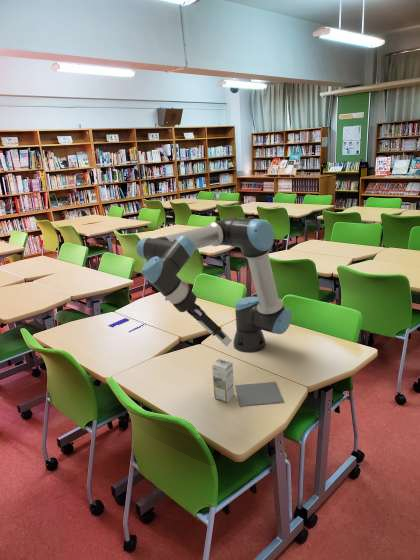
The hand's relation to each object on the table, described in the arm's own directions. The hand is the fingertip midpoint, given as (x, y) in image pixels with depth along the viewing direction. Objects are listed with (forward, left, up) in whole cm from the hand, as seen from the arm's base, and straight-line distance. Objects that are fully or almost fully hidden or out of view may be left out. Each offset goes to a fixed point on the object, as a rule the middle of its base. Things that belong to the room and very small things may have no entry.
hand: (220, 336), depth 145 cm
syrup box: (-5, 0, -27) cm, 28 cm away
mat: (-5, +13, -27) cm, 31 cm away
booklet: (-82, -43, -28) cm, 97 cm away
